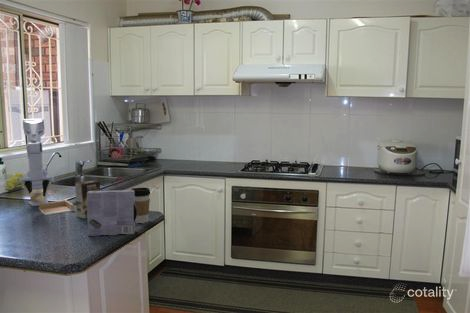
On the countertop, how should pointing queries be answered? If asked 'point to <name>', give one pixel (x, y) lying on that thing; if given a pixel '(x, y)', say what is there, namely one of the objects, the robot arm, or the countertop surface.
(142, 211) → the coffee cup
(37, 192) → the maple block
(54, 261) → the countertop surface
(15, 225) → the countertop surface
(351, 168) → the countertop surface
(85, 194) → the coffee box
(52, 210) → the arena
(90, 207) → the cake pan box
